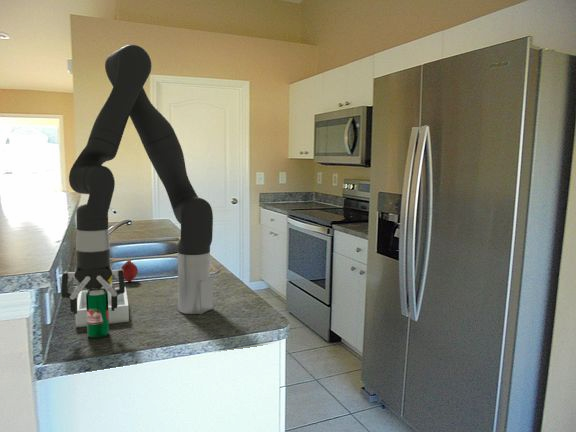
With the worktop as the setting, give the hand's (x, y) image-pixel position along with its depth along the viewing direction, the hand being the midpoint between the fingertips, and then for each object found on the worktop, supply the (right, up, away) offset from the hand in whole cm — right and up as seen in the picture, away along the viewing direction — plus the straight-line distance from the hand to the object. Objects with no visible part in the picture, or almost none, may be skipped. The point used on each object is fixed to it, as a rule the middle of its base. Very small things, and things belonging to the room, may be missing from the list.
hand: (94, 311), depth 111 cm
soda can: (+1, -6, +1) cm, 6 cm away
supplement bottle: (-12, -2, +34) cm, 36 cm away
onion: (-8, 0, +48) cm, 49 cm away
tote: (-5, -4, +16) cm, 17 cm away
